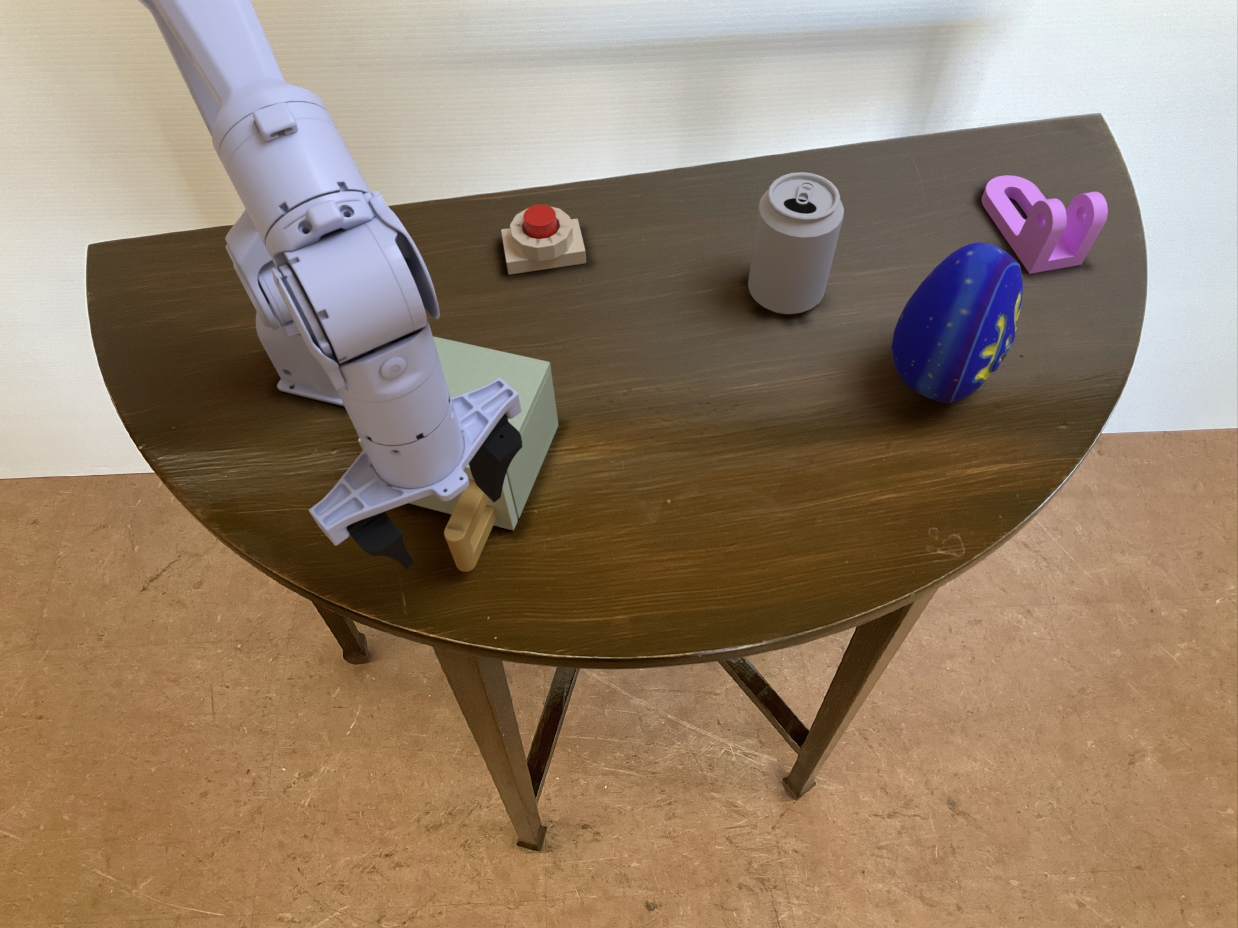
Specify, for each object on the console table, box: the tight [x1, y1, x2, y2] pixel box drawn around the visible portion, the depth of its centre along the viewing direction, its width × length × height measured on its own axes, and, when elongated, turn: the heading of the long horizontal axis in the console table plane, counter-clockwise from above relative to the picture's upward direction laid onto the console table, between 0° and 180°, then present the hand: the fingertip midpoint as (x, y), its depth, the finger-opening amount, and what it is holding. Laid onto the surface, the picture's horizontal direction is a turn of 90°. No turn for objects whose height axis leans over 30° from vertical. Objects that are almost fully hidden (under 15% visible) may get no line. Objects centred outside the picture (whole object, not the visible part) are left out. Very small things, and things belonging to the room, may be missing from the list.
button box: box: [500, 206, 587, 276], centre depth 87 cm, size 8×6×4 cm
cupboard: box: [432, 335, 559, 519], centre depth 71 cm, size 10×12×9 cm
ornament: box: [891, 242, 1024, 404], centre depth 72 cm, size 11×9×15 cm
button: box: [523, 204, 557, 239], centre depth 85 cm, size 3×3×2 cm
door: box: [357, 438, 519, 573], centre depth 66 cm, size 6×12×8 cm, turn 73°
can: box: [747, 171, 845, 315], centre depth 79 cm, size 8×8×12 cm
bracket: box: [981, 174, 1109, 275], centre depth 86 cm, size 13×6×7 cm, turn 12°
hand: (446, 523), depth 60 cm, fingers open, 7 cm apart
